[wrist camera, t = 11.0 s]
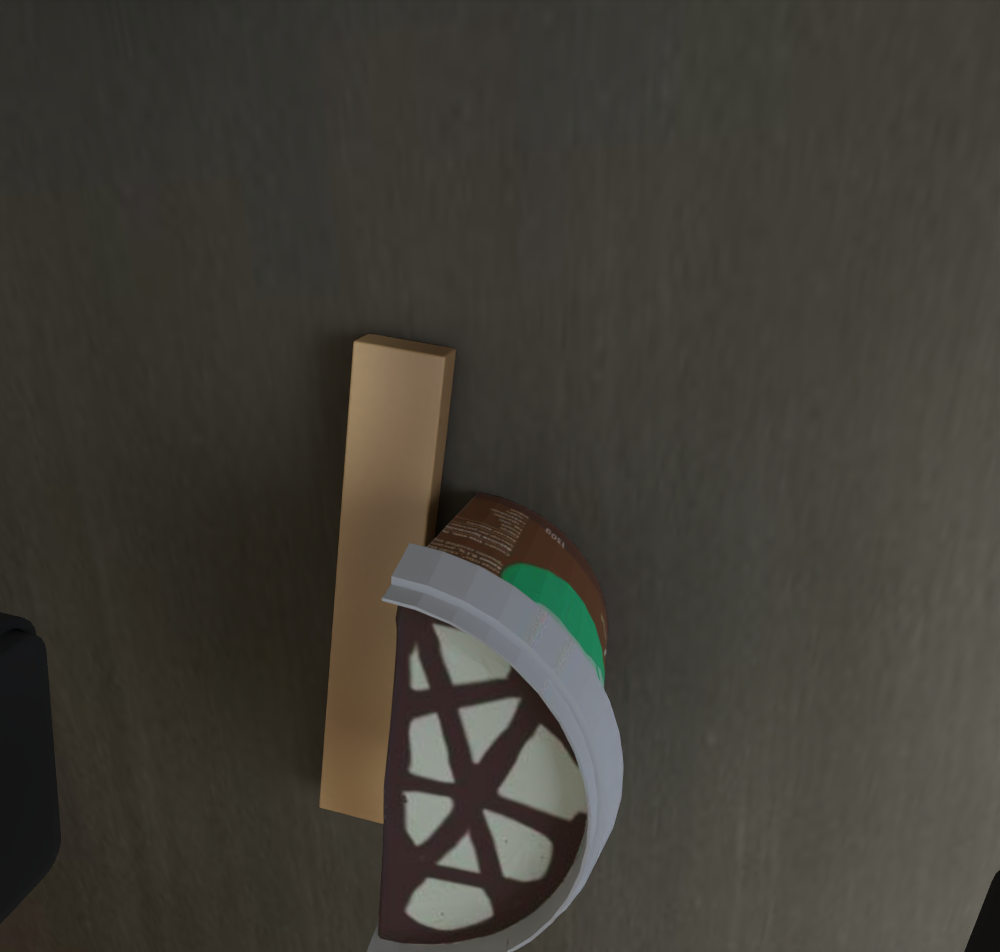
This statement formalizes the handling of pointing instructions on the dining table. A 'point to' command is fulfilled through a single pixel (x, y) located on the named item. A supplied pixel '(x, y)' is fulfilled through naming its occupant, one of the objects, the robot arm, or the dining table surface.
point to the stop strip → (379, 551)
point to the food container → (494, 735)
